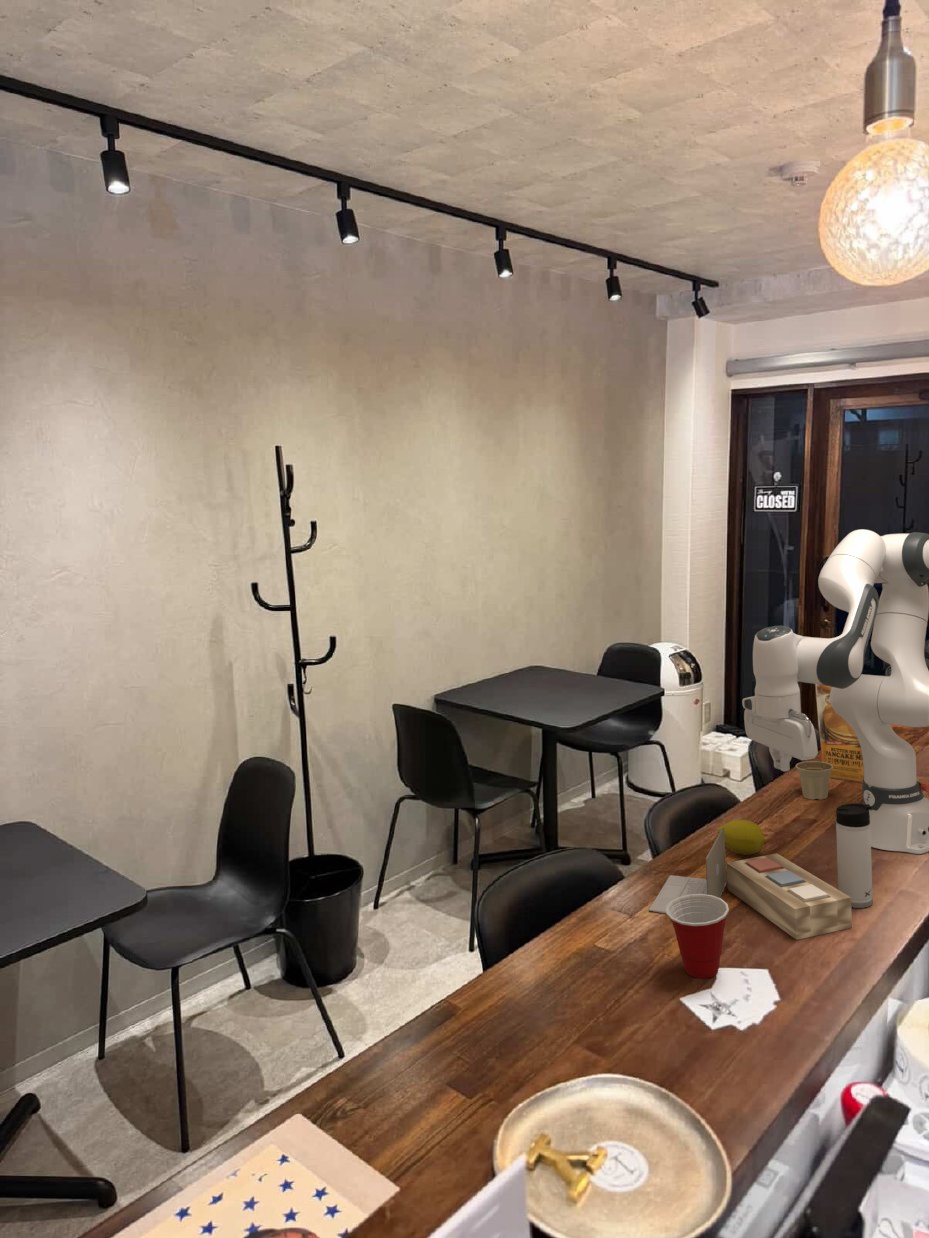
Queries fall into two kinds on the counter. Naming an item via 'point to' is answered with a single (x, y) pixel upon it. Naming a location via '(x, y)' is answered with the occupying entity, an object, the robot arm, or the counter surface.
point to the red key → (763, 865)
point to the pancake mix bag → (838, 740)
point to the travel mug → (854, 853)
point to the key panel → (790, 899)
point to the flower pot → (814, 779)
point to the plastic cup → (699, 931)
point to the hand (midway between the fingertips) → (781, 769)
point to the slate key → (785, 878)
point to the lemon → (743, 837)
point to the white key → (808, 893)
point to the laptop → (697, 879)
